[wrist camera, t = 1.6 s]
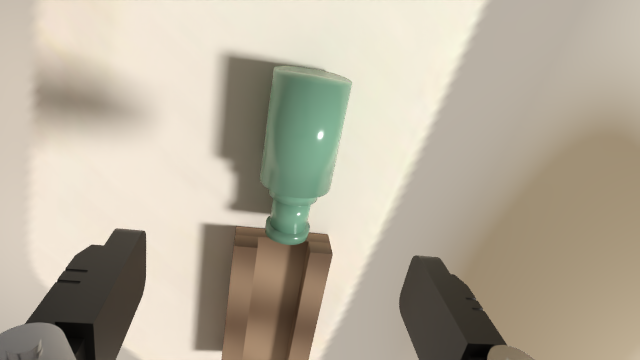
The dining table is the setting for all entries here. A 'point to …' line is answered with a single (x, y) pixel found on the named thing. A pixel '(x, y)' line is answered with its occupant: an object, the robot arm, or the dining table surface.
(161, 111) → the dining table surface
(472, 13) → the dining table surface
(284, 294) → the bottle rest
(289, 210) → the bottle
